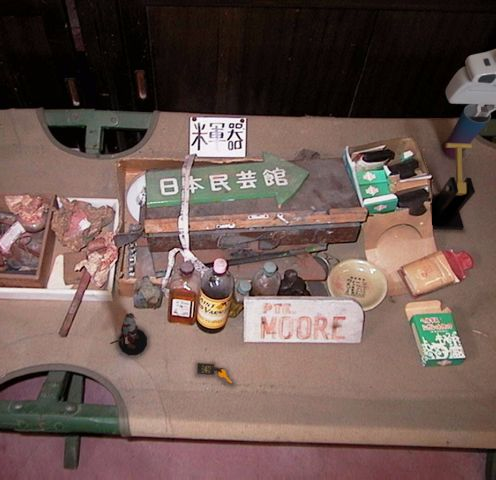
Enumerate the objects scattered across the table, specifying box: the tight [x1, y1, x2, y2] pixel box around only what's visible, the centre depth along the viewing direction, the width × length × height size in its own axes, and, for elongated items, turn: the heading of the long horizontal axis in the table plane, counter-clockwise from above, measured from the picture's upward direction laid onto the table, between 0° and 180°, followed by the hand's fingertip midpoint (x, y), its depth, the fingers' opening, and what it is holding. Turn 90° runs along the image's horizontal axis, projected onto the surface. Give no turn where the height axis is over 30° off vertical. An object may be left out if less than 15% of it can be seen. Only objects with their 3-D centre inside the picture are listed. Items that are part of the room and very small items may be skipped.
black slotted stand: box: [431, 176, 476, 231], centre depth 134 cm, size 10×9×13 cm
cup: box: [442, 104, 492, 159], centre depth 144 cm, size 7×7×15 cm
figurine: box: [109, 312, 148, 356], centre depth 115 cm, size 7×7×15 cm
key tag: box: [197, 363, 233, 384], centre depth 117 cm, size 8×3×1 cm, turn 73°
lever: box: [444, 142, 473, 195], centre depth 131 cm, size 13×6×2 cm, turn 177°
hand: (479, 114), depth 122 cm, fingers closed
